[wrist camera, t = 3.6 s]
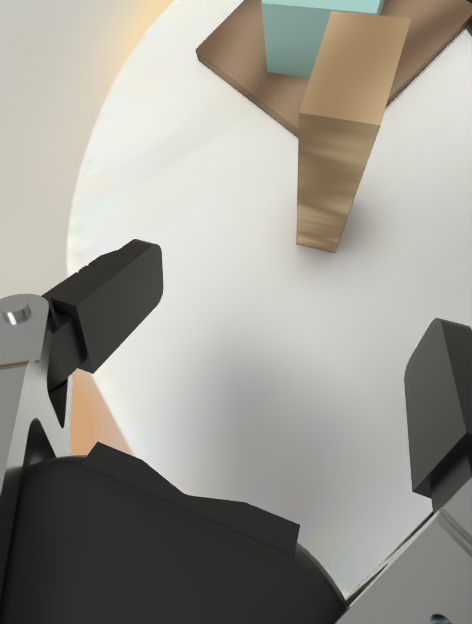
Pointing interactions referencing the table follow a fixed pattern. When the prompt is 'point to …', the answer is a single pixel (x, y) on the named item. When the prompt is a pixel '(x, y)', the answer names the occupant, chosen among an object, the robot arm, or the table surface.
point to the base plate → (291, 89)
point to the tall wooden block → (343, 119)
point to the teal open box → (302, 30)
